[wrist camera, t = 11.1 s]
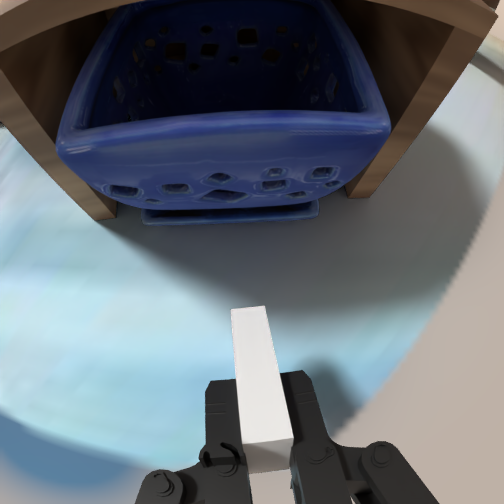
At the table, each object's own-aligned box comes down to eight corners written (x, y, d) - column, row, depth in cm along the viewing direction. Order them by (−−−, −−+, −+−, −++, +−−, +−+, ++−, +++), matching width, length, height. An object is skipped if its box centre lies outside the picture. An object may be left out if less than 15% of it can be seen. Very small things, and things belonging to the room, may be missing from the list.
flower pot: (151, 107, 24) (118, -5, 13) (302, 101, 25) (329, -14, 13) (134, 252, 20) (41, 156, 9) (327, 243, 21) (409, 138, 10)
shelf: (369, 197, 22) (498, 15, 6) (94, 220, 21) (-53, 50, 4) (327, 72, 26) (368, -76, 10) (116, 88, 25) (66, -59, 9)
